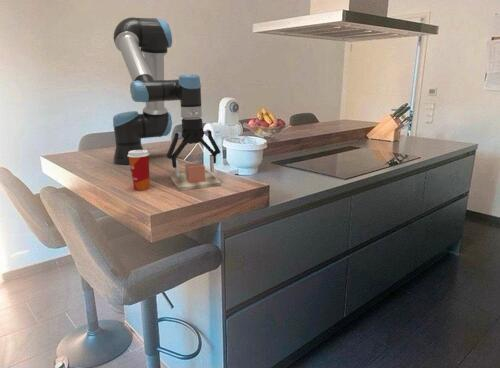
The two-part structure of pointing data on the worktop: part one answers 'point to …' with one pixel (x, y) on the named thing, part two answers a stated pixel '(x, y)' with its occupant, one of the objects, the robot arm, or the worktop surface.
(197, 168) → the reddish orange cube
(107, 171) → the worktop surface
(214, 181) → the board
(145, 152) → the paper cup
